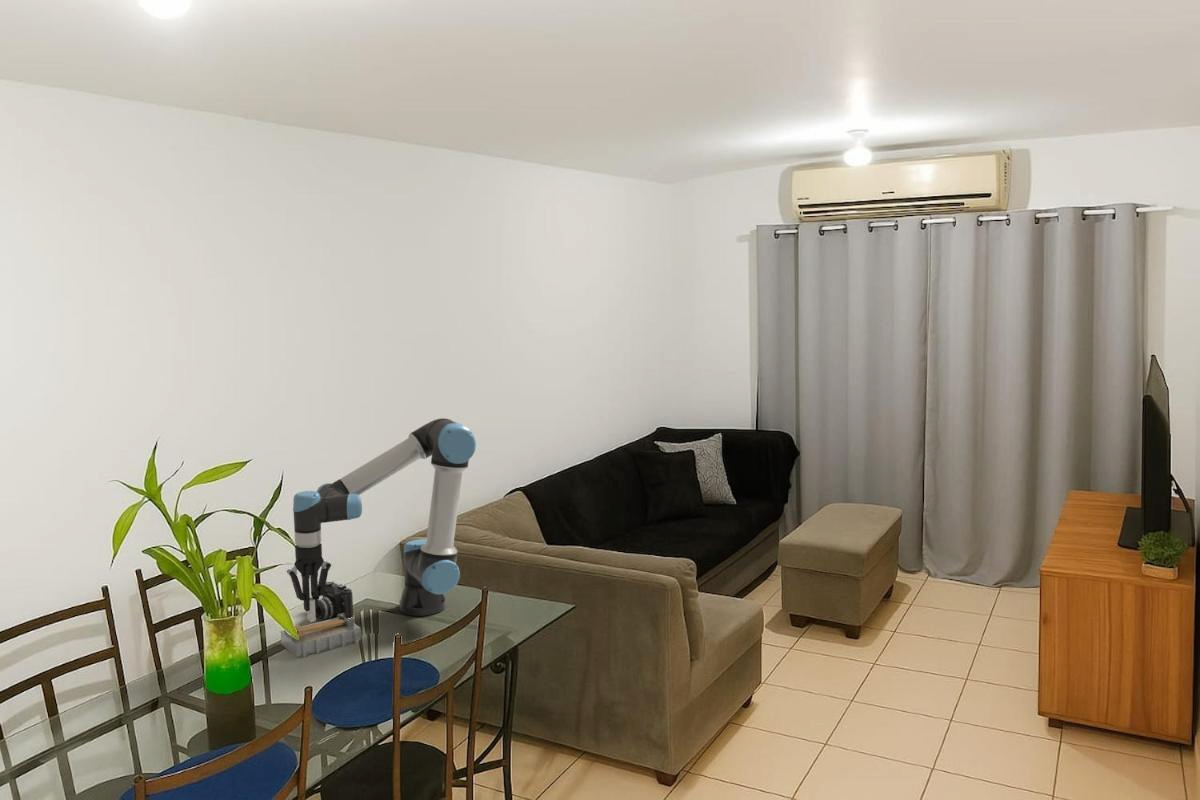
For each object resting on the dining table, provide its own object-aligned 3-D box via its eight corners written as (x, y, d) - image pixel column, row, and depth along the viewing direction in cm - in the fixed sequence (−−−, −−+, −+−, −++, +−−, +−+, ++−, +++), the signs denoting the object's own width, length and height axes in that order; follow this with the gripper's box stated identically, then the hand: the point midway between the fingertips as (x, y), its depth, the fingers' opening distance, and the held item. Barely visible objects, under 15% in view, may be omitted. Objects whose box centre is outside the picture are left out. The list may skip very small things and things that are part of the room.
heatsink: (342, 627, 293) (341, 607, 292) (362, 641, 282) (361, 620, 281) (279, 643, 280) (279, 622, 279) (298, 658, 270) (297, 637, 269)
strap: (343, 619, 288) (344, 615, 288) (351, 624, 284) (351, 620, 284) (291, 630, 277) (291, 626, 277) (298, 635, 274) (298, 631, 273)
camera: (303, 615, 303) (302, 585, 301) (332, 606, 311) (331, 577, 309) (327, 626, 293) (326, 596, 292) (357, 617, 301) (356, 587, 300)
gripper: (324, 536, 282) (326, 611, 285) (281, 545, 273) (285, 621, 277) (334, 542, 276) (337, 618, 280) (291, 551, 268) (295, 629, 271)
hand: (311, 619), depth 278 cm, fingers closed
